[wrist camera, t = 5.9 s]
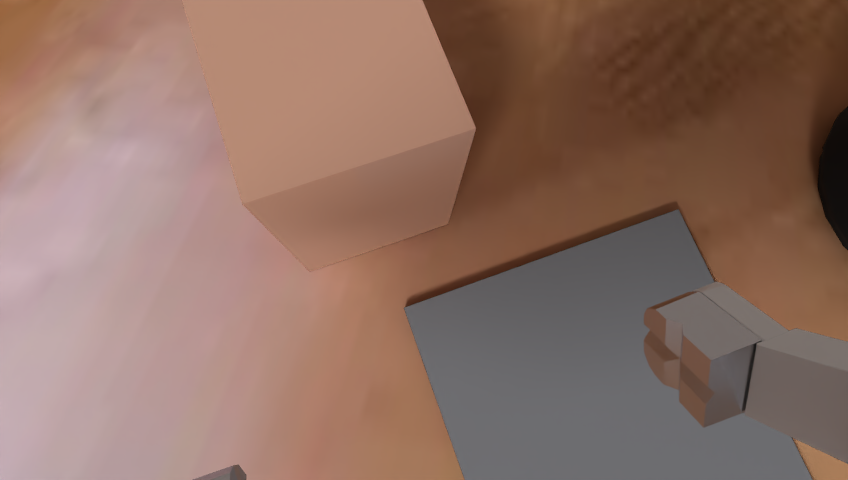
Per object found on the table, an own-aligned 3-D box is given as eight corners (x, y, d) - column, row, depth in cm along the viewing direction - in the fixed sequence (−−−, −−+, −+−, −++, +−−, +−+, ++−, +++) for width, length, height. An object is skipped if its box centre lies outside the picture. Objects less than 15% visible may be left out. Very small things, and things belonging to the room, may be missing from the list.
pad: (520, 637, 19) (523, 643, 19) (404, 308, 22) (404, 307, 22) (818, 504, 21) (825, 507, 20) (674, 211, 24) (678, 209, 23)
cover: (309, 271, 22) (242, 204, 13) (268, 142, 24) (181, -2, 15) (448, 224, 23) (476, 128, 14) (400, 101, 25) (397, -61, 15)
